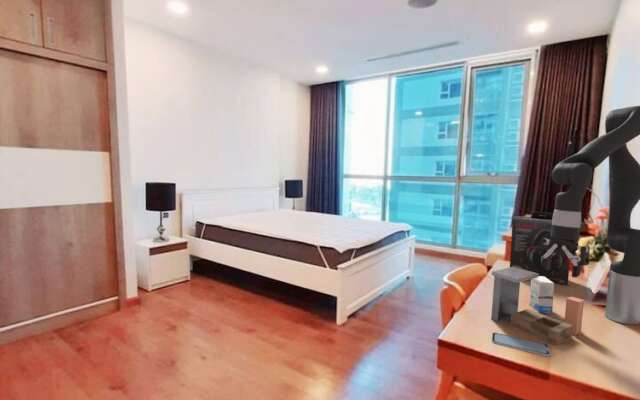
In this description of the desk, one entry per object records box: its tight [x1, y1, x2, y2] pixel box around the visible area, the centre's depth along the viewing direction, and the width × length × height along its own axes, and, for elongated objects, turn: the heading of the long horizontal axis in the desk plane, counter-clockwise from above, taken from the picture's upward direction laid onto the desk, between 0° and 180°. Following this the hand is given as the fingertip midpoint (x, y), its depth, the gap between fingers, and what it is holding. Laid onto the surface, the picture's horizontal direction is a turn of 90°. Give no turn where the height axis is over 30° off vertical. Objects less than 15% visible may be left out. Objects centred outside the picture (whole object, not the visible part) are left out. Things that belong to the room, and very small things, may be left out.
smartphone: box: [491, 332, 551, 357], centre depth 101 cm, size 7×1×15 cm
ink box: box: [528, 276, 555, 314], centre depth 128 cm, size 9×5×12 cm, turn 168°
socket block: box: [509, 308, 573, 346], centre depth 109 cm, size 10×14×4 cm
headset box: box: [509, 211, 571, 286], centre depth 164 cm, size 25×12×33 cm, turn 54°
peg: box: [563, 296, 585, 335], centre depth 110 cm, size 4×4×11 cm
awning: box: [490, 266, 539, 323], centre depth 117 cm, size 13×9×17 cm
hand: (560, 273), depth 109 cm, fingers open, 8 cm apart
